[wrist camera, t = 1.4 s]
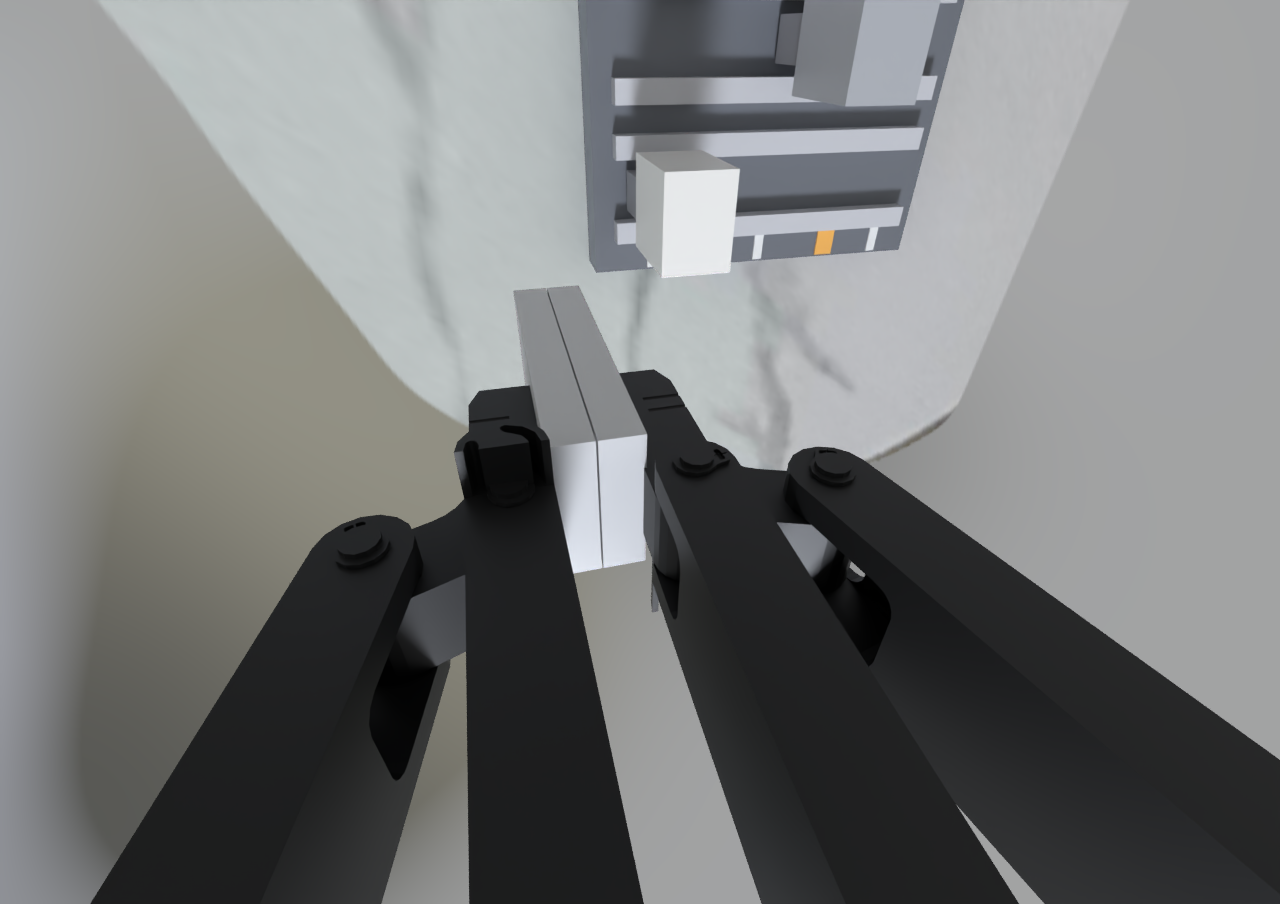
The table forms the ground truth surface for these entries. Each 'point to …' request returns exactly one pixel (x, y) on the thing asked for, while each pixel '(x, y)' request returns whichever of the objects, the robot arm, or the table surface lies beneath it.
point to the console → (744, 128)
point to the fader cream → (683, 211)
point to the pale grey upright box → (858, 50)
